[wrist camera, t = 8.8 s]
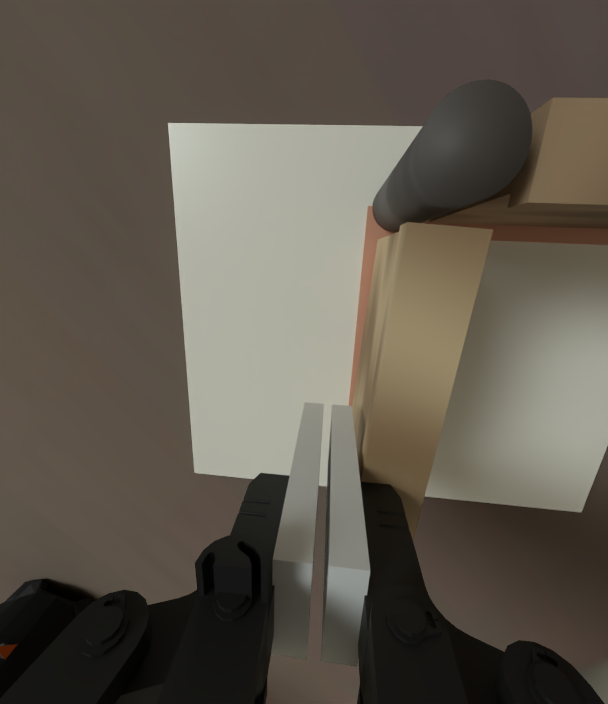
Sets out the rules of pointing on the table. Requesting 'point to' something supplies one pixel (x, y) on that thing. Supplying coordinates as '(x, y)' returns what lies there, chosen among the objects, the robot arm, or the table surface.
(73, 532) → the table surface
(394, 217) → the fence section
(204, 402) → the board
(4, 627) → the portable speaker
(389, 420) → the fence panel
